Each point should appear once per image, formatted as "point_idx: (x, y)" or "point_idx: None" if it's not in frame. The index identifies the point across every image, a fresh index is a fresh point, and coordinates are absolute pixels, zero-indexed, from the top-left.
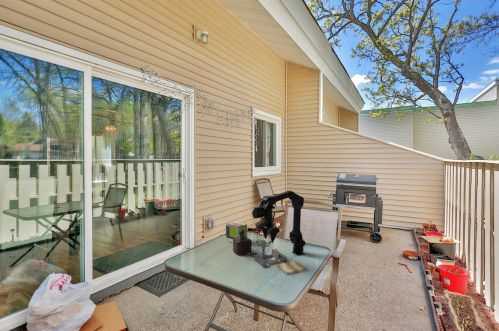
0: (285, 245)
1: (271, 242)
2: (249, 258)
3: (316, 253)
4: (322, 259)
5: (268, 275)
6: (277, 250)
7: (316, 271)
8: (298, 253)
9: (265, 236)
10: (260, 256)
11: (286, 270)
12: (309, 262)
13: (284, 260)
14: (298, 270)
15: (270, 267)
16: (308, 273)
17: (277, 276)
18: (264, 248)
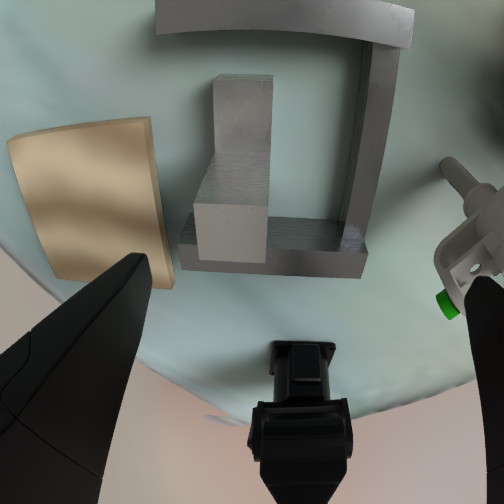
0: (438, 357)
1: (135, 253)
2: (461, 11)
3: (248, 396)
4: (171, 377)
5: (33, 5)
6: (199, 245)
7: (46, 290)
8: (280, 356)
9: (488, 320)
10: (394, 79)
11: (30, 152)
12: (152, 330)
13: (184, 228)
14: (36, 223)
15: (152, 62)
16: (25, 249)
17: (6, 65)
18: (466, 204)
